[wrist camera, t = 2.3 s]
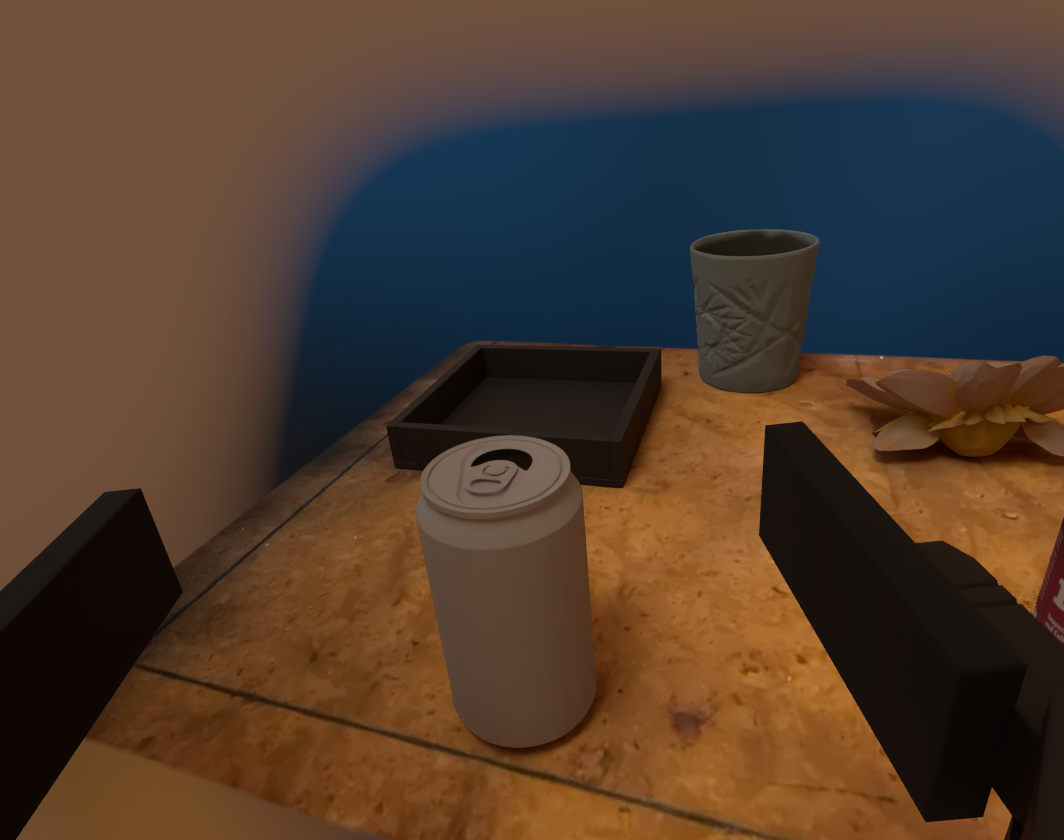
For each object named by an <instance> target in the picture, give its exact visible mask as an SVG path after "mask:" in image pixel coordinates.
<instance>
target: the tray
mask: <svg viewBox="0 0 1064 840" xmlns="http://www.w3.org/2000/svg"><path fill="white" fill-rule="evenodd" d="M660 388H661V349H657V348H652V349H651V348H605V347H557V346H509V345H476V346H475V347H474V348H473V349H472V350H471V351H469V352H468V353H467V354H466V355H465V356H464V357H463V358H462V359H461V360H459V361H458V362H457V363H456V364H455V365H454V366H453V367H452V368H450V369H449V370H448V371H447V372H446V373H445V374H444V375H443V376H441V377H440V378H439V379H438V380H437V381H436V382H435V383H434V384H433V385H431V386H430V387H429V388H428V389H427V390H426V391H425V392H424V393H422V394H421V395H420V396H419V397H418V398H417V399H416V400H415V401H414V402H412V403H411V404H410V405H409V406H408V407H407V408H406V409H405V410H403V411H402V412H401V413H400V414H399V415H398V416H397V417H396V418H394V419H393V420H392V421H391V422H390V423H389V424H388V425H387V426H386V427H387V432H388V437H389V441H390V446H391V451H392V456H393V460H394V465H395V468H405V469H416V470H424V469H425V468H426V466H427V465H428V464H429V463H430V462H431V461H432V460H433V459H434V458H436V457H437V456H438V455H440V454H441V453H443V452H445V451H447V450H448V449H450V448H453V447H455V446H457V445H460V444H463V443H466V442H469V441H472V440H476V439H481V438H486V437H493V436H506V435H514V436H527V437H533V438H538V439H542V440H545V441H547V442H550V443H552V444H554V445H556V446H558V447H559V448H560V449H562V450H563V451H564V452H565V453H566V455H567V456H568V458H569V461H570V469H571V473H572V474H573V475H574V476H575V477H576V479H577V480H578V481H579V483H580V484H585V485H596V486H607V487H618V488H623V486H624V484H625V481H626V478H627V476H628V473H629V470H630V468H631V465H632V462H633V460H634V457H635V454H636V452H637V449H638V446H639V444H640V441H641V439H642V436H643V433H644V431H645V428H646V425H647V423H648V420H649V417H650V415H651V412H652V409H653V407H654V404H655V401H656V399H657V396H658V393H659V391H660Z"/></svg>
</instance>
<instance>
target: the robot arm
mask: <svg viewBox="0 0 1064 840" xmlns="http://www.w3.org/2000/svg"><path fill="white" fill-rule="evenodd" d="M759 536H760V538H761V539H762V541H763V543H764V545H765V546H766V548H767V550H768V551H769V553H770V555H771V557H772V558H773V560H774V562H775V564H776V565H777V567H778V569H779V570H780V572H781V574H782V576H783V577H784V579H785V581H786V582H787V584H788V586H789V588H790V589H791V591H792V593H793V595H794V596H795V598H796V600H797V601H798V603H799V605H800V607H801V608H802V610H803V612H804V613H805V615H806V617H807V619H808V620H809V622H810V624H811V626H812V627H813V629H814V631H815V632H816V634H817V636H818V638H819V639H820V641H821V643H822V644H823V646H824V648H825V650H826V651H827V653H828V655H829V657H830V658H831V660H832V662H833V663H834V665H835V667H836V669H837V670H838V672H839V674H840V675H841V677H842V679H843V681H844V682H845V684H846V686H847V688H848V689H849V691H850V693H851V694H852V696H853V698H854V700H855V701H856V703H857V705H858V706H859V708H860V710H861V712H862V713H863V715H864V717H865V719H866V720H867V722H868V724H869V725H870V727H871V729H872V731H873V732H874V734H875V736H876V737H877V739H878V741H879V743H880V744H881V746H882V748H883V750H884V751H885V753H886V755H887V756H888V758H889V760H890V762H891V763H892V765H893V767H894V768H895V770H896V772H897V774H898V775H899V777H900V779H901V781H902V782H903V784H904V786H905V787H906V789H907V791H908V793H909V794H910V796H911V798H912V799H913V801H914V803H915V805H916V806H917V808H918V810H919V812H920V813H921V815H922V817H923V818H924V820H925V822H933V821H944V820H955V819H966V818H977V817H983V815H984V811H985V808H986V805H987V801H988V798H989V794H990V791H991V788H993V789H994V790H995V792H996V793H997V795H998V796H999V797H1000V799H1001V800H1002V802H1003V803H1004V805H1005V806H1006V807H1007V809H1008V810H1009V812H1010V813H1011V814H1012V818H1011V821H1010V824H1009V827H1008V830H1007V833H1006V836H1005V839H1004V840H1064V645H1063V644H1062V643H1061V642H1060V641H1059V640H1058V639H1057V638H1056V637H1055V636H1054V635H1053V634H1052V633H1050V632H1049V631H1048V630H1047V629H1046V628H1045V627H1044V626H1043V625H1042V624H1041V623H1040V622H1039V621H1038V620H1037V619H1036V618H1035V617H1034V616H1033V615H1032V614H1031V613H1030V612H1029V611H1028V610H1027V609H1026V608H1025V607H1024V606H1023V605H1022V604H1017V601H1016V598H1015V597H1014V596H1012V595H1011V594H1010V593H1009V592H1008V591H1007V590H1006V589H1005V588H1004V587H1003V586H1002V585H1000V586H999V585H998V583H997V580H996V579H995V578H994V577H993V576H992V575H991V574H990V573H989V572H988V571H987V570H986V569H985V568H984V567H983V566H982V565H981V564H980V563H979V562H978V561H977V560H975V559H974V558H973V557H971V556H969V555H967V554H965V553H964V552H962V551H960V550H958V549H956V548H955V547H953V546H951V545H949V544H947V543H946V542H944V541H934V542H924V543H915V542H914V541H913V540H912V539H911V538H910V537H909V536H908V535H907V534H906V533H905V532H904V531H903V530H902V528H901V527H900V526H899V525H898V524H897V523H896V522H895V521H894V520H893V519H892V518H891V517H890V516H889V514H888V513H887V512H886V511H885V510H884V509H883V508H882V507H881V506H880V505H879V504H878V503H877V502H876V500H875V499H874V498H873V497H872V496H871V495H870V494H869V493H868V492H867V491H866V490H865V489H864V487H863V486H862V485H861V484H860V483H859V482H858V481H857V480H856V479H855V478H854V477H853V476H852V475H851V473H850V472H849V471H848V470H847V469H846V468H845V467H844V466H843V465H842V464H841V463H840V462H839V461H838V459H837V458H836V457H835V456H834V455H833V454H832V453H831V452H830V451H829V450H828V449H827V448H826V447H825V445H824V444H823V443H822V442H821V441H820V440H819V439H818V438H817V437H816V436H815V435H814V434H813V433H812V431H811V430H810V429H809V428H808V427H807V426H806V425H805V424H804V423H803V422H794V423H784V424H775V425H765V442H764V459H763V477H762V494H761V511H760V529H759ZM182 592H183V591H182V589H181V586H180V584H179V581H178V579H177V577H176V574H175V572H174V569H173V567H172V564H171V562H170V559H169V557H168V554H167V552H166V550H165V547H164V545H163V542H162V540H161V537H160V535H159V532H158V530H157V527H156V525H155V523H154V520H153V518H152V515H151V513H150V510H149V508H148V505H147V503H146V501H145V498H144V495H143V493H142V490H141V489H130V490H120V491H110V492H104V493H103V494H102V495H101V496H100V497H99V498H98V499H97V500H96V501H95V502H94V503H93V504H92V505H91V506H90V507H88V508H87V509H86V510H85V511H84V512H83V513H82V514H81V515H80V516H79V517H78V518H77V519H76V520H75V521H74V522H73V523H72V524H71V525H70V526H68V527H67V528H66V529H65V530H64V531H63V532H62V533H61V534H60V535H59V536H58V537H57V538H56V539H55V540H54V541H53V542H52V543H51V544H50V545H49V546H47V548H45V549H44V550H43V551H42V552H41V553H40V554H39V555H38V556H37V557H36V558H35V559H34V560H33V561H32V562H31V563H30V564H29V565H27V567H25V568H24V569H23V570H22V571H21V572H20V573H19V574H18V575H17V576H16V577H15V578H14V579H13V580H12V581H11V582H10V583H9V584H7V586H5V587H4V588H3V589H2V590H1V591H0V840H16V838H17V837H18V836H19V834H20V833H21V831H22V830H23V828H24V827H25V825H26V824H27V822H28V821H29V819H30V818H31V816H32V815H33V813H34V812H35V810H36V809H37V807H38V806H39V804H40V803H41V801H42V800H43V798H44V797H45V796H46V794H47V793H48V791H49V790H50V788H51V787H52V785H53V784H54V782H55V780H56V779H57V778H58V776H59V775H60V773H61V772H62V770H63V769H64V767H65V766H66V764H67V763H68V761H69V760H70V758H71V757H72V755H73V754H74V752H75V751H76V749H77V748H78V747H79V745H80V743H81V742H82V741H83V739H84V738H85V736H86V735H87V733H88V732H89V730H90V729H91V727H92V726H93V724H94V723H95V721H96V720H97V718H98V717H99V715H100V714H101V713H102V711H103V710H104V708H105V707H106V705H107V704H108V702H109V701H110V699H111V698H112V696H113V695H114V693H115V692H116V690H117V689H118V687H119V686H120V684H121V683H122V681H123V680H124V678H125V677H126V675H127V674H128V672H129V671H130V670H131V668H132V667H133V665H134V664H135V662H136V661H137V659H138V658H139V656H140V655H141V653H142V652H143V650H144V649H145V647H146V646H147V644H148V643H149V641H150V640H151V638H152V637H153V635H154V634H155V632H156V631H157V630H158V628H159V627H160V625H161V624H162V622H163V621H164V619H165V618H166V616H167V615H168V613H169V612H170V610H171V609H172V607H173V606H174V604H175V603H176V601H177V600H178V598H179V597H180V595H181V594H182Z"/></svg>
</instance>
